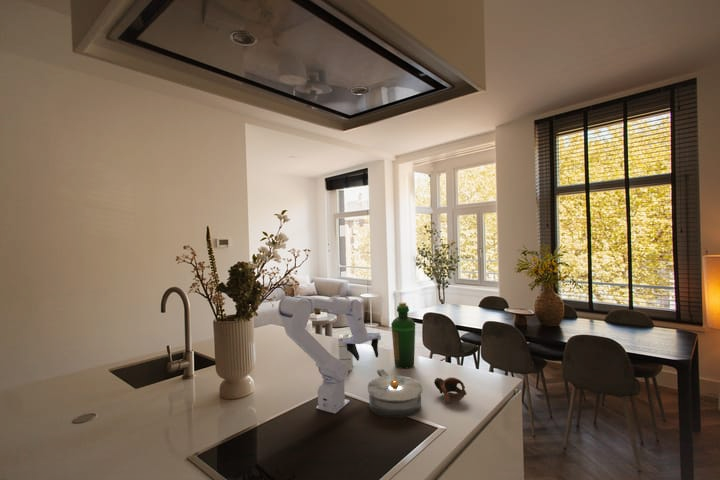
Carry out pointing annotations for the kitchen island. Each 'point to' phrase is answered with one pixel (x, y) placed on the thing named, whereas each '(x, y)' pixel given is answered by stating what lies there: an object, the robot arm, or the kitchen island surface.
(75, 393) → the kitchen island surface
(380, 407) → the cooker pot
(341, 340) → the syrup box
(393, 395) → the cooker lid
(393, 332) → the bottle
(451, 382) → the pottery mug
